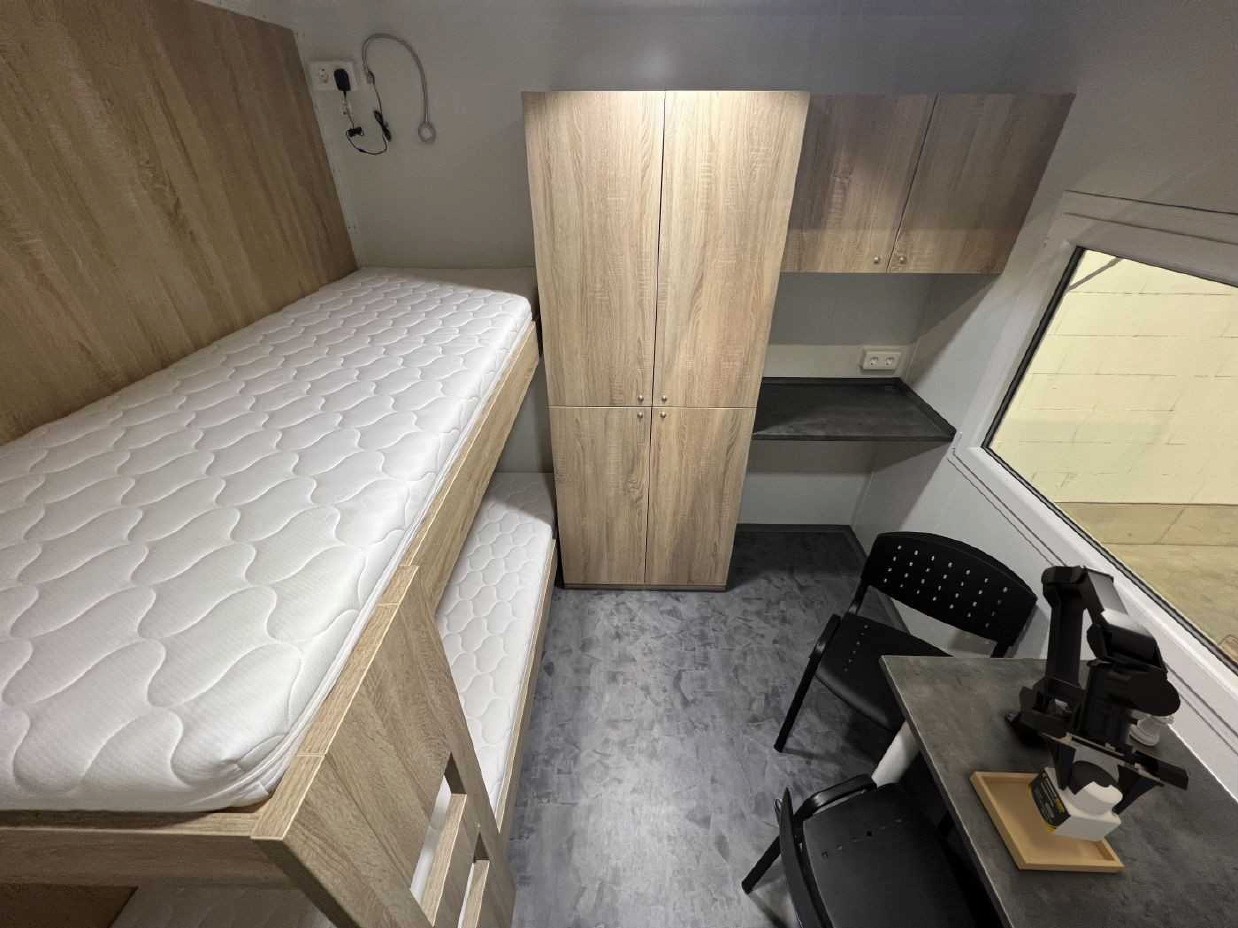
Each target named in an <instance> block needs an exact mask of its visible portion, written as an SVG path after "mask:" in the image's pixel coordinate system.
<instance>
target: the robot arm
mask: <svg viewBox="0 0 1238 928" xmlns="http://www.w3.org/2000/svg"><path fill="white" fill-rule="evenodd" d="M1114 583H1115V577H1114V575H1113V574H1111V573H1109V571H1108V572H1107V571H1104V570H1101V569H1098V568H1094V567H1091V566H1088V565H1084V564H1083V565H1079V564H1078V565H1074V566H1072V565H1071V566H1070V565H1069V566H1067V565H1053V566H1050V567H1047V568H1045V569H1044V570H1043V572H1042V573H1041V576H1040V584H1042V596H1043V598H1044V599H1045V601H1046V602H1047V604H1048V606H1049V607H1050V619H1049V631H1048V641H1047V651H1046V660H1045V661H1046V664H1045V670H1044V671H1045V673H1044V675H1043V677H1041V678H1040V679H1039V680H1037V682H1035V683H1034V684H1033V685H1032V688H1030V687H1027V686H1025V685H1024V686H1022V687H1021V689H1020V690H1019V693H1018V698H1019V704H1020V710H1019V712H1018V713H1005V716H1004V717H1005V719H1006V720H1007V722H1008V723H1009V724H1010V727H1012V729H1013V730H1014V731H1015V733H1016V735H1017V736H1018V738H1019V739H1020V741H1021V742H1022V744H1023V745H1024V746H1025V747H1026V748H1039V749H1049V752H1050V755H1051V758H1052V763H1053V768H1054V769H1055V774H1056V779H1057V784H1058V788H1059V789H1060V790H1062V791H1065V788H1066V786H1067V784H1068V781H1069V777H1070V773H1071V769H1072V765H1073V763H1074V762H1075V761H1074V760H1075V756H1076V752H1077V748H1075V747H1073V746H1072V745H1071V743H1072V742H1073V743H1077V744H1079V745H1082V746H1084V747H1087V748H1089V749H1092V750H1094V751H1097V752H1099V753H1102V754H1105V755H1106V756H1109V757H1112V758H1114V759H1117V760H1119V761H1121V762H1124V765H1122V764H1120V763H1116V768H1117V773H1118V778H1117V783H1118V784H1119V786H1120V788H1121V791H1122V799H1121V801H1120V802H1118V803H1117V804H1116V805H1115V806H1113V807H1112V812H1113V813H1115V814H1117V816H1119V815H1120V814H1122V813H1123V812H1124V811H1125V810H1126V809H1127V808H1128V807H1130V806H1131V805H1132V804H1133V803H1134V802H1135V801H1136V800H1138V798H1139V799H1140V797H1141V796H1144V795H1145V794H1146V793H1147V792H1149V791H1151V790H1152V789H1154V788H1155V787H1160V788H1162V789H1164V788H1165V787H1166V786H1165V785H1166V784H1169V785H1171V786H1174V787H1176V788H1178V789H1180V790H1184V791H1185V792H1189V791H1190V788H1191V783H1192V779H1191V778H1190V775H1189V773H1188V771H1187V770H1186V769H1185V768H1182V767H1180V766H1178V765H1174V764H1173V763H1170V762H1168V761H1165V760H1164V759H1161V758H1158V757H1156V756H1153V755H1150V754H1148V753H1145V752H1143V751H1140V750H1136V751H1134V752H1133V748H1134V745H1132V744H1129V740H1130V736H1131V735H1130V730H1131V725H1132V724H1133V725H1136V726H1137V724H1138V720H1139V719H1138V718H1135V717H1134V715H1135V711H1137V712H1140V713H1144V714H1150V715H1153V716H1158V717H1165V716H1170V715H1171V716H1172V715H1174V714H1175V713H1177V712H1178V711H1179V709H1180V707H1181V705H1182V704H1181V703H1182V700H1181V697H1180V694H1179V693H1178V690H1177V688H1176V687H1175V686H1174V685H1173V684H1172V682H1170V681H1169V680H1168V679H1169V678H1168V677H1169V676H1168V674H1169V670H1168V668H1167V665H1166V663H1165V661H1164V659H1163V655H1162V652H1161V648H1160V646H1159V644H1158V641H1157V639H1156V638H1155V636H1153V634H1152V633H1151V631H1149V630H1148V628H1147V627H1146V626H1144V625H1143V624H1140V623H1139V622H1138V621H1136V620H1134V619H1133V618H1132V617H1131V616H1130V614H1129V612H1128V610H1127V608H1126V606H1125V604H1124V601H1123V600H1122V598H1121V596H1120V595H1119V592H1118V590H1117V588H1116V586H1115V585H1114ZM1086 610H1087V613H1088V615H1089V618H1090V620H1091V624H1090V626H1088V628H1087V629H1086V632H1085V633H1086V635H1085V636H1086V637H1085V638H1086V642H1087V644H1088V647H1089V648H1090V650H1091V652H1092V654H1093V656H1094V657H1095V658H1093V659H1090V660H1088V661H1087V662H1086V665H1085V666H1086V667H1088V668H1089V669H1088V675H1087V679H1086V684H1085V688H1083V686H1082V685H1081V683H1080V671H1081V670H1080V669H1081V657H1082V656H1081V655H1082V639H1083V626H1084V614H1085V611H1086ZM1106 744H1108V745H1109V747H1108V746H1106ZM1110 747H1112V748H1110ZM1113 748H1114V749H1113ZM1159 780H1160V781H1161V782H1160V781H1159ZM1162 782H1163V783H1162ZM1165 783H1166V784H1165Z"/></svg>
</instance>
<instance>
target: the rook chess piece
mask: <svg viewBox="0 0 1238 928" xmlns="http://www.w3.org/2000/svg"><path fill="white" fill-rule="evenodd" d="M1174 719H1175V716H1174V714H1172V715H1170V716H1165V717H1158V716H1153V715H1150V714H1147V716H1146V717H1144V718H1142V719H1140V720H1139V719H1138V724H1137V726H1136V725H1133V724H1132V725H1131V730H1130V735H1129V736H1131V737H1132V738H1133V739H1134V740H1135V741H1137V742H1138V743H1139V744H1143V745H1145V746H1151V747H1152V746H1156V745H1157V743H1159V741H1160V733H1161V732H1162V731H1161V730H1162V729H1163V728H1166V727H1167V726H1168V725H1173V724H1174Z"/></svg>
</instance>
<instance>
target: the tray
mask: <svg viewBox="0 0 1238 928" xmlns="http://www.w3.org/2000/svg"><path fill="white" fill-rule="evenodd" d="M1038 774H1039V773H1024V772H1023V773H1022V772H996V771H974V772H973V773H972V774H971V775H970V776H969V781H970V782H971V784H972V786H973V789H974V790H975V791H976V793H977V795H978V797H979V799H980V800H981V802H982V804H983V806H984V808H985V809H986V812H988V815H989V817H990V819H991V820H992V823H993V825H994V826H995V827H996V830H997V831H998V834H999V835H1000V837H1001V839H1002V841H1003V842H1004V844H1005V846H1006V847H1007V849H1008V851H1009V853H1010V855H1011V857H1012V858H1013V861H1014V862H1015V864H1016V866H1017V868H1018V869H1019V870H1031V871H1032V870H1034V871H1058V872H1060V871H1063V872H1084V873H1085V872H1086V873H1087V872H1089V873H1113V874H1115V873H1118V872H1119V871H1120V870H1122V869H1124V868H1125V865H1124V864H1123V863H1122V861H1121V860H1120V858H1119V857H1118V855H1117V854H1116V852H1115V851H1114V850H1113V848H1112V847H1111V845H1110V843H1109V842H1108V841H1107V840H1106V838H1105V836H1104V837H1103V838H1102V839H1100V840H1099V841H1097V842H1095V841H1089V840H1083V839H1078V838H1072V837H1066V836H1060V835H1055V834H1051V833H1049V831H1048V829H1047V827H1046V825H1045V823H1044V821H1043V819H1042V817H1041V815H1040V813H1039V811H1038V809H1037V807H1036V805H1035V803H1034V801H1033V799H1032V797H1031V795H1030V793H1029V791H1028V789H1027V786H1028V785H1029V784H1030V783H1031V782H1032V781H1033V780H1034V779H1035V777H1036V776H1037V775H1038Z"/></svg>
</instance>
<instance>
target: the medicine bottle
mask: <svg viewBox="0 0 1238 928" xmlns="http://www.w3.org/2000/svg"><path fill="white" fill-rule="evenodd" d="M1037 774H1038V775H1037V776H1036V777H1035V779H1034V780H1033V781H1032V782H1031V783H1030V784H1029V785H1028V786H1027V789H1028V791H1029V793H1030V795H1031V797H1032V799H1033V801H1034V803H1035V805H1036V807H1037V809H1038V811H1039V813H1040V815H1041V817H1042V819H1043V821H1044V823H1045V825H1046V827H1047V829H1048V831H1049V833H1051V834H1055V835H1060V836H1066V837H1072V838H1078V839H1083V840H1089V841H1095V842H1097V841H1099V840H1100V839H1102V838H1103V837H1104V838H1105V837H1106V836H1107V835H1108V834H1109V833H1111V832H1113V830H1115V829H1116V828H1118V827H1119V826H1120V825H1121V824H1122V821H1121V819H1120V817H1119V815H1117V814H1115V813H1113V812H1112V807H1113V806H1115V805H1116V804H1117V803H1118V802H1120V801H1121V799H1122V791H1121V788H1120V786H1119V784H1118V783H1117V782H1118V780H1116V779H1115V777H1114V776H1113V775H1111V774H1110V773H1109V772H1108V771H1107V770H1106V769H1105V768H1103V767H1101V766H1099V765H1098V764H1096V763H1094V762H1090V761H1088V760H1075V761H1073V765H1072V769H1071V773H1070V777H1069V781H1068V784H1067V786H1066V788H1065V791H1062V790H1060V789H1059V788H1058V784H1057V779H1056V774H1055V769H1054V767H1050V766H1049V767H1048V766H1046V767H1045V766H1044V768H1043V769H1042V770H1041V771H1040V772H1039V773H1037Z"/></svg>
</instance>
